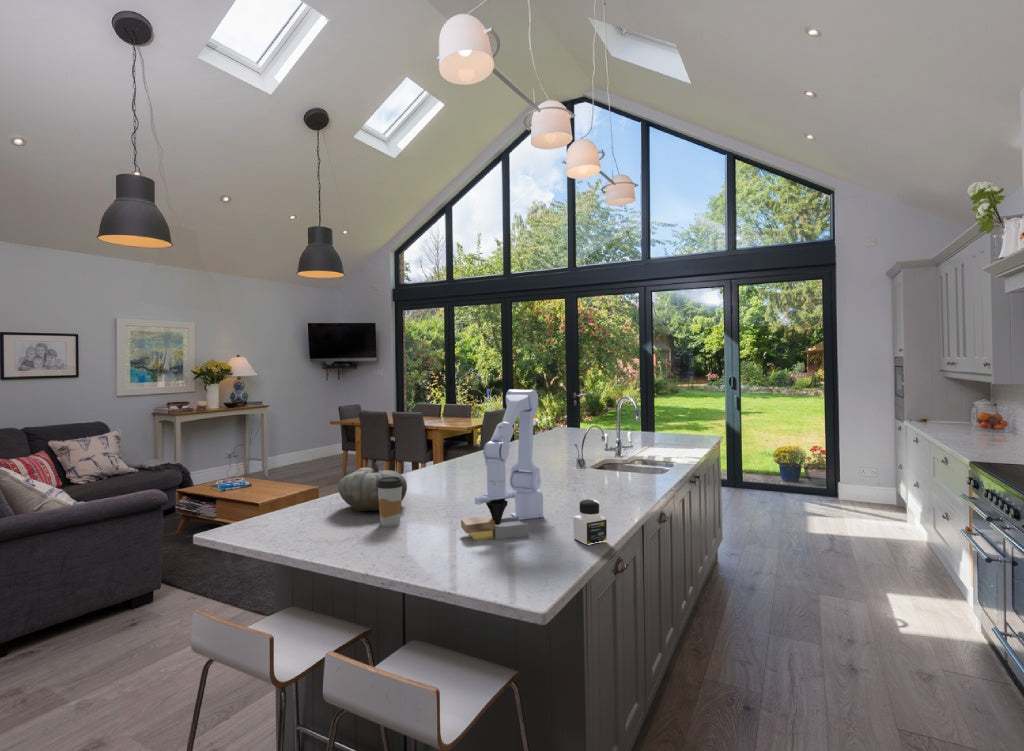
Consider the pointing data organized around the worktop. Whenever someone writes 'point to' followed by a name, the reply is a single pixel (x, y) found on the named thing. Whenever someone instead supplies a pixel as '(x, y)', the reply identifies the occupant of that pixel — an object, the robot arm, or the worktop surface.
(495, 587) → the worktop surface
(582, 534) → the medicine bottle
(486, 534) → the yellow square tray
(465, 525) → the cover
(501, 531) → the grey piece
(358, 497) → the gourd
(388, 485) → the coffee cup
